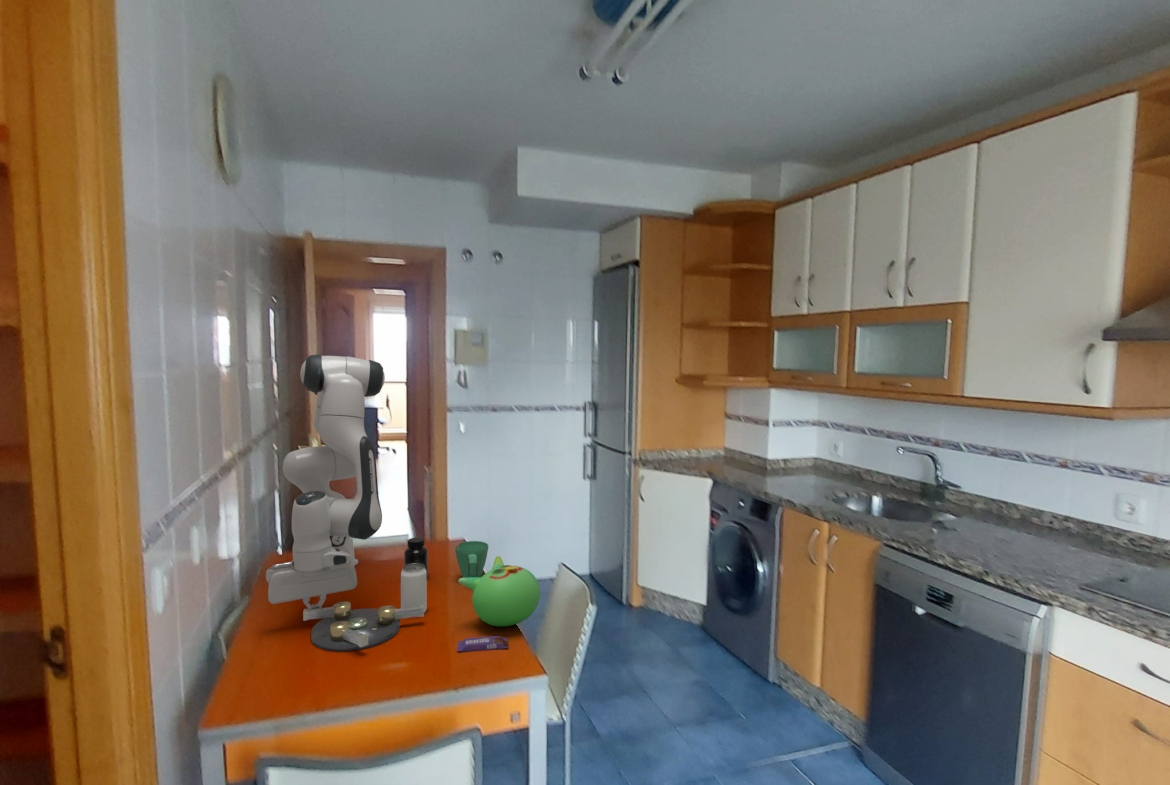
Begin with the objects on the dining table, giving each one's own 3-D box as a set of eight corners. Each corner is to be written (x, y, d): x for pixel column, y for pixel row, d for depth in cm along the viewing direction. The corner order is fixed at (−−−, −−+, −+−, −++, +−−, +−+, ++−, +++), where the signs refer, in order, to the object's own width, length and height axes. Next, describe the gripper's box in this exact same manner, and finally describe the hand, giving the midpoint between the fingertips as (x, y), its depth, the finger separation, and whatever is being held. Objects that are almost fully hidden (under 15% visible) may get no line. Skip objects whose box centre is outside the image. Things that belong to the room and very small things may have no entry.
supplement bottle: (400, 578, 185) (400, 539, 184) (421, 573, 189) (421, 534, 189) (410, 584, 180) (410, 544, 179) (432, 579, 184) (431, 539, 184)
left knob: (378, 625, 149) (378, 613, 148) (378, 618, 152) (378, 606, 152) (424, 619, 152) (424, 607, 152) (423, 613, 156) (423, 601, 156)
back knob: (351, 612, 156) (351, 600, 156) (350, 618, 152) (350, 606, 152) (304, 617, 153) (304, 605, 153) (302, 623, 149) (302, 611, 149)
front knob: (326, 638, 141) (326, 625, 141) (341, 632, 145) (341, 619, 145) (357, 650, 136) (357, 637, 135) (372, 643, 139) (372, 630, 139)
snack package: (457, 647, 139) (458, 637, 144) (457, 655, 139) (458, 645, 144) (508, 643, 141) (507, 634, 146) (508, 651, 141) (507, 642, 146)
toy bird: (510, 643, 144) (511, 582, 143) (455, 627, 152) (455, 569, 151) (551, 615, 159) (552, 560, 158) (499, 602, 168) (499, 549, 167)
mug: (454, 574, 189) (454, 542, 188) (487, 571, 191) (487, 540, 191) (455, 591, 175) (455, 557, 174) (490, 589, 177) (490, 555, 176)
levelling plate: (296, 633, 148) (296, 620, 148) (372, 607, 163) (372, 596, 163) (337, 660, 135) (337, 647, 135) (416, 630, 150) (415, 618, 150)
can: (419, 618, 157) (419, 571, 156) (396, 615, 158) (395, 569, 158) (430, 607, 163) (430, 563, 163) (408, 605, 165) (408, 561, 164)
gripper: (265, 569, 144) (268, 627, 145) (357, 555, 154) (359, 608, 155) (264, 561, 150) (267, 616, 151) (353, 548, 160) (354, 599, 161)
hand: (314, 612), depth 153 cm, fingers closed
